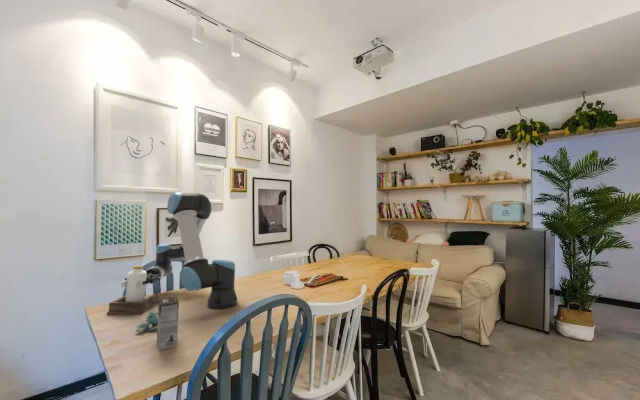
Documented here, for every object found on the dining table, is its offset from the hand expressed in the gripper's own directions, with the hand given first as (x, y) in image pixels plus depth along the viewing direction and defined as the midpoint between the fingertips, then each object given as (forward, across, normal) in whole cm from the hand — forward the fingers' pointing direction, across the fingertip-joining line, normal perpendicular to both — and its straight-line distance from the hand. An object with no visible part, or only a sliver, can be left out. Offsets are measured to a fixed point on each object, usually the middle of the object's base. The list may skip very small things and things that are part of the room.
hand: (129, 284), depth 138 cm
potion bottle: (-5, 0, -10) cm, 11 cm away
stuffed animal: (+20, -20, -13) cm, 31 cm away
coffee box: (+33, -34, -13) cm, 49 cm away
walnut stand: (-5, 0, -13) cm, 14 cm away
